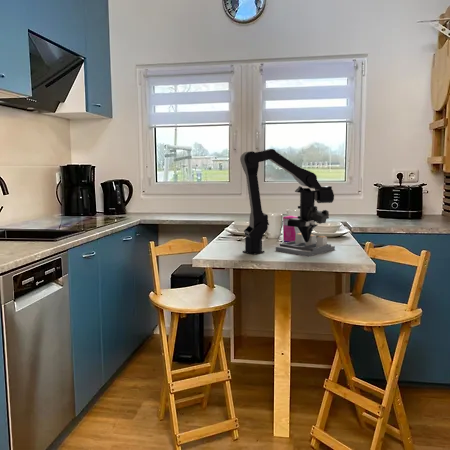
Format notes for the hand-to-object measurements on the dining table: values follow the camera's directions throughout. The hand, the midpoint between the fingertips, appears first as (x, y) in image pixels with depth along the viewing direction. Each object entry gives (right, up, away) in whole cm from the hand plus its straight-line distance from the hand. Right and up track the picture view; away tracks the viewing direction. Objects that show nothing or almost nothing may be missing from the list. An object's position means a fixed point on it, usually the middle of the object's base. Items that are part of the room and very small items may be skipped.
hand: (306, 241), depth 185 cm
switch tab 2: (+2, -1, +2) cm, 3 cm away
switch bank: (-1, -3, 0) cm, 3 cm away
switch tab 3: (+6, -2, -1) cm, 6 cm away
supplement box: (-3, -1, +20) cm, 20 cm away
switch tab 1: (-2, -1, +6) cm, 6 cm away
